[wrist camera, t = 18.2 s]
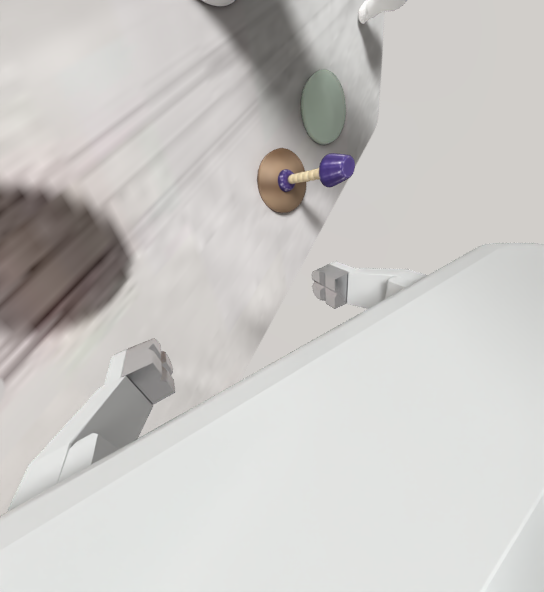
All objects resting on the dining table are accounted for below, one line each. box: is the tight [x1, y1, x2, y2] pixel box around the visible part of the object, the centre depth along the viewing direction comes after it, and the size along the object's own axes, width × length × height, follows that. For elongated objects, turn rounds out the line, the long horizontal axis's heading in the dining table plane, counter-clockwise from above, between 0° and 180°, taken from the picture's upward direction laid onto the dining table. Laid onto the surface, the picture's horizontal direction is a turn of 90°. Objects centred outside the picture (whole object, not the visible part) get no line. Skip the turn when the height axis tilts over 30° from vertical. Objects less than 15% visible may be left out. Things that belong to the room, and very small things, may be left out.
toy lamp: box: [278, 153, 355, 192], centre depth 36 cm, size 5×5×17 cm
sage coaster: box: [301, 69, 346, 145], centre depth 43 cm, size 12×12×1 cm
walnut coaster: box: [257, 148, 306, 213], centre depth 43 cm, size 12×12×1 cm
